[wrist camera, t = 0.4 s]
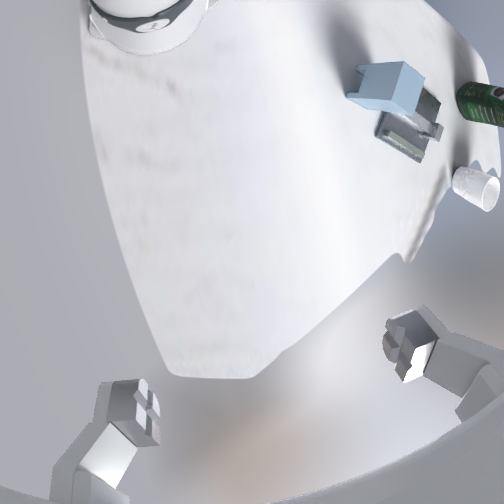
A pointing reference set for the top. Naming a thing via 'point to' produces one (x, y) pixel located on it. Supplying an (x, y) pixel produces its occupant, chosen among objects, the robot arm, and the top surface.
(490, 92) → the coffee jar
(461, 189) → the white cup
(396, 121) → the rail plate
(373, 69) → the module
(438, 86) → the top surface
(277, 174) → the top surface
